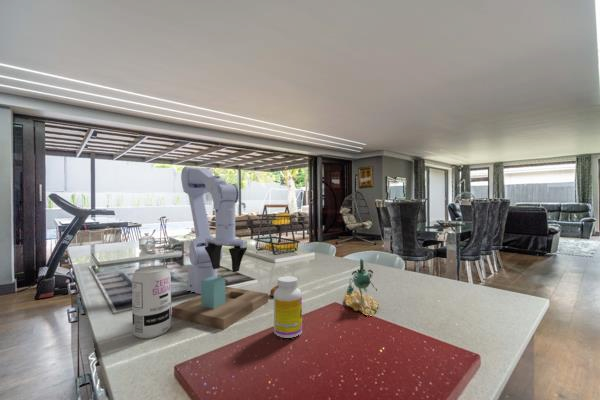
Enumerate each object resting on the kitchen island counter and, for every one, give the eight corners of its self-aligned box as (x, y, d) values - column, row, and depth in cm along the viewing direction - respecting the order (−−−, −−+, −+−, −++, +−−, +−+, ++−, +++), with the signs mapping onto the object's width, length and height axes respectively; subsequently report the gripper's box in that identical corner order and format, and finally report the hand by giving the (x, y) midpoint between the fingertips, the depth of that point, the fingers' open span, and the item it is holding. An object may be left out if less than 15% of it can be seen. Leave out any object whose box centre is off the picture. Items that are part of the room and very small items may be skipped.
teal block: (201, 306, 78) (201, 280, 77) (213, 300, 82) (212, 276, 81) (214, 308, 76) (213, 282, 75) (225, 303, 80) (225, 278, 80)
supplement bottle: (305, 338, 64) (304, 281, 64) (275, 341, 63) (275, 284, 63) (298, 325, 71) (298, 274, 71) (272, 328, 70) (271, 275, 69)
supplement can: (142, 324, 72) (141, 265, 72) (176, 323, 73) (175, 264, 73) (125, 340, 64) (124, 274, 64) (163, 338, 65) (162, 273, 65)
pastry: (278, 300, 89) (278, 288, 89) (265, 295, 93) (265, 284, 93) (300, 293, 95) (300, 281, 95) (286, 288, 100) (286, 278, 100)
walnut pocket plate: (171, 316, 77) (171, 307, 77) (222, 293, 95) (222, 285, 95) (223, 329, 69) (223, 319, 69) (268, 301, 87) (268, 293, 87)
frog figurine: (368, 294, 94) (370, 250, 92) (387, 324, 76) (389, 271, 74) (339, 294, 93) (340, 250, 91) (351, 325, 75) (353, 271, 74)
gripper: (197, 224, 85) (197, 270, 85) (235, 227, 78) (236, 276, 78) (214, 222, 91) (214, 265, 91) (251, 224, 84) (251, 270, 85)
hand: (225, 269), depth 85 cm, fingers open, 7 cm apart
